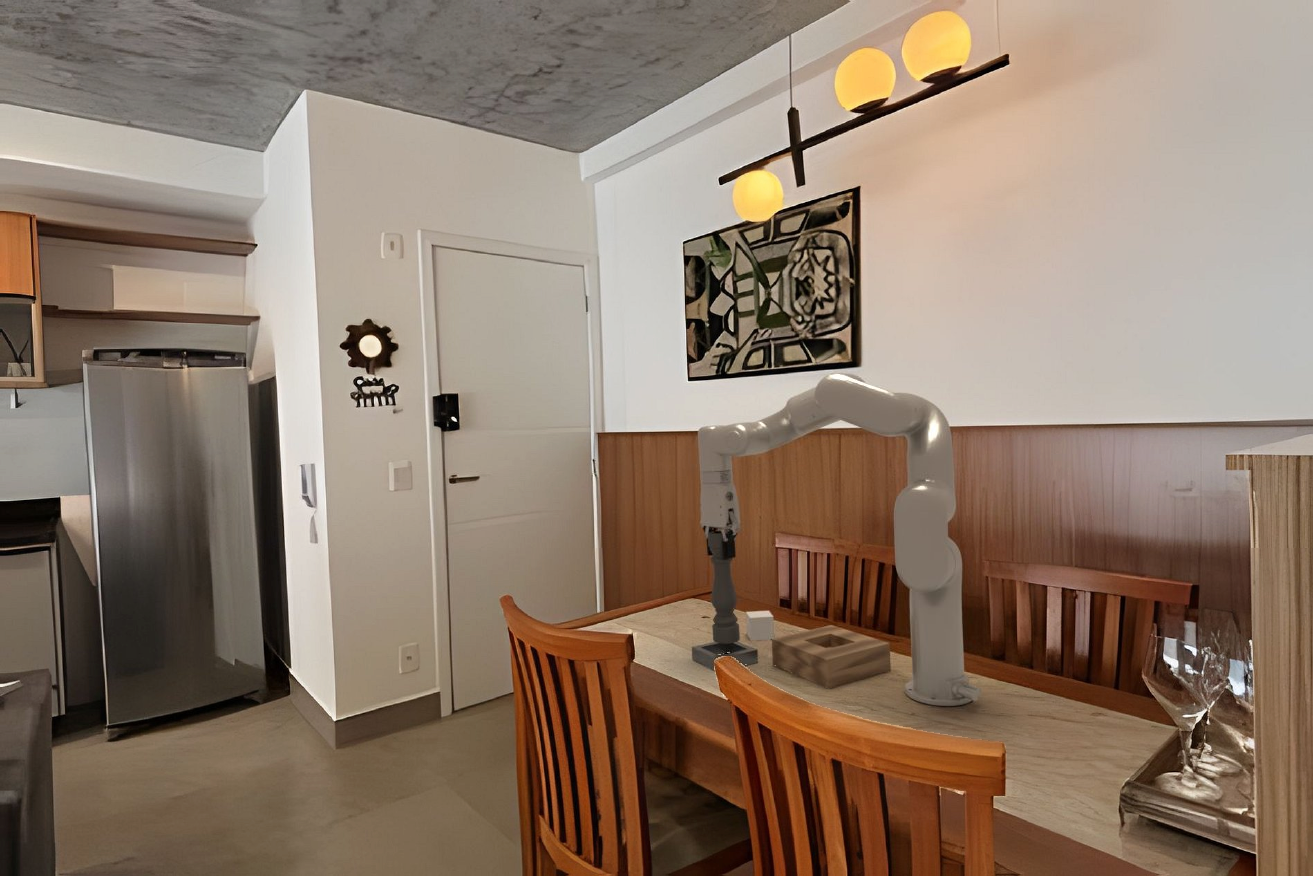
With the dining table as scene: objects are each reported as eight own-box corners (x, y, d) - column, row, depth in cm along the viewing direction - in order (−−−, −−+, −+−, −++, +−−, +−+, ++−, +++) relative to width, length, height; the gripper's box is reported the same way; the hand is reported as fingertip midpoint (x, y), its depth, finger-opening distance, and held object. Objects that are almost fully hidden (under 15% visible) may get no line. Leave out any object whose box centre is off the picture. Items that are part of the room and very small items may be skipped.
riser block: (890, 670, 155) (889, 643, 155) (828, 688, 146) (826, 659, 146) (832, 650, 171) (831, 625, 171) (772, 665, 162) (771, 639, 162)
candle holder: (739, 635, 169) (733, 529, 168) (740, 643, 162) (733, 533, 162) (713, 636, 169) (707, 531, 169) (712, 644, 163) (706, 534, 163)
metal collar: (758, 662, 164) (757, 649, 164) (718, 672, 159) (717, 659, 159) (730, 650, 174) (730, 638, 174) (692, 659, 168) (691, 647, 168)
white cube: (746, 634, 187) (745, 611, 187) (769, 633, 187) (768, 610, 187) (751, 641, 181) (749, 617, 181) (774, 640, 181) (773, 616, 181)
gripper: (751, 478, 160) (756, 558, 160) (709, 476, 175) (714, 550, 175) (724, 481, 156) (729, 563, 156) (683, 479, 171) (688, 554, 171)
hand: (721, 555), depth 166 cm, fingers closed on candle holder, 5 cm apart
